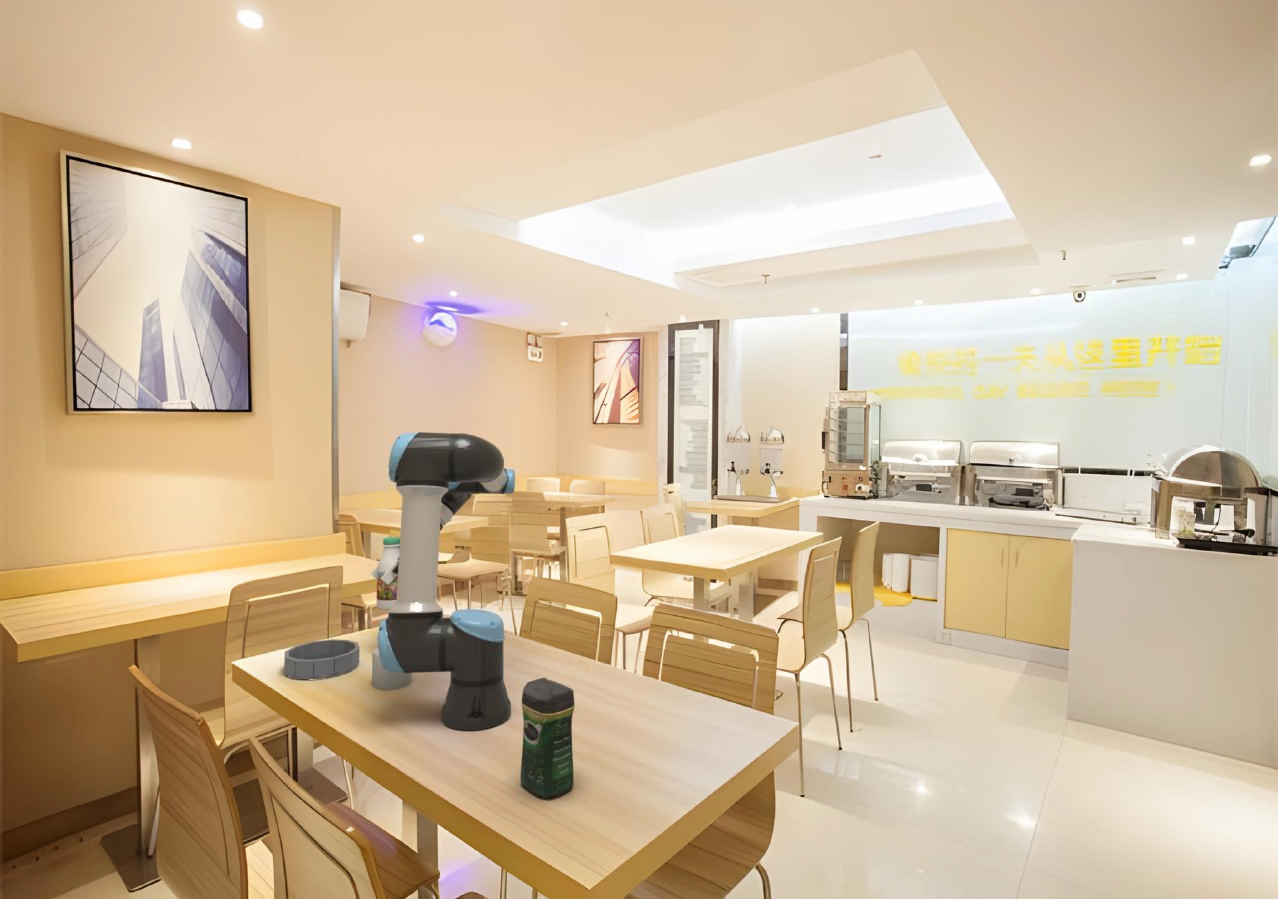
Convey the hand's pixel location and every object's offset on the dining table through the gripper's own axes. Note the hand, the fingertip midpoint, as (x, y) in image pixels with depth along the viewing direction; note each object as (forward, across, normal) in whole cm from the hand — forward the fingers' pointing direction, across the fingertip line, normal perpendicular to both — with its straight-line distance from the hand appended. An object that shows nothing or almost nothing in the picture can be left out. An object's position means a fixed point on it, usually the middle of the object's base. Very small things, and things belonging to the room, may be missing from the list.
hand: (379, 579), depth 182 cm
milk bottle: (+4, 0, -9) cm, 9 cm away
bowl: (+26, +1, -6) cm, 27 cm away
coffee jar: (+17, -88, -16) cm, 91 cm away
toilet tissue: (+19, -21, -14) cm, 31 cm away
